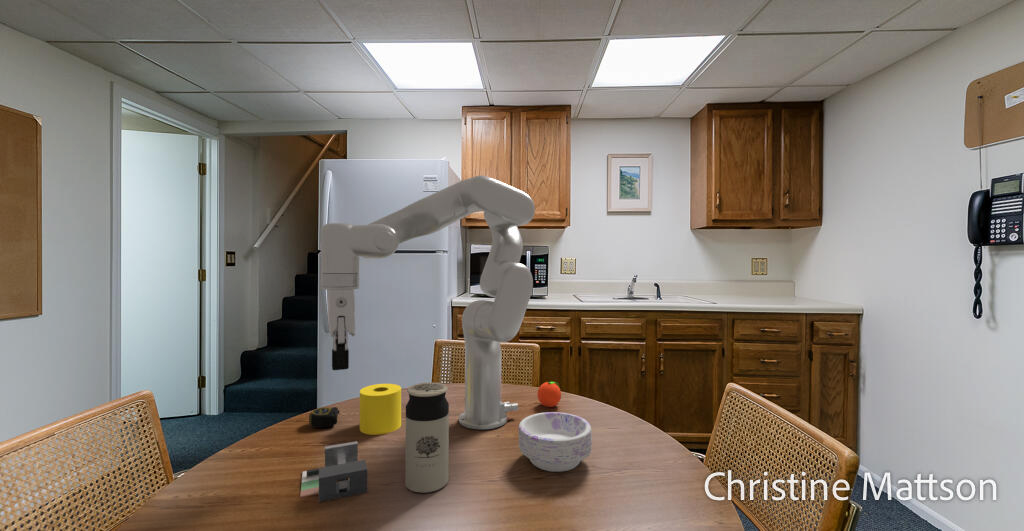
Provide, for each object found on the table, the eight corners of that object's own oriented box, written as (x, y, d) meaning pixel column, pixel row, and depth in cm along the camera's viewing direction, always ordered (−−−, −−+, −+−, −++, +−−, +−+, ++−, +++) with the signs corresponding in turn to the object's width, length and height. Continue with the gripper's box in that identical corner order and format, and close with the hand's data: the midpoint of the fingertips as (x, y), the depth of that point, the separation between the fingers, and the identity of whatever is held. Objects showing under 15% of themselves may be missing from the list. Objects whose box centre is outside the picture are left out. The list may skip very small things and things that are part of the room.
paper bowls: (507, 471, 84) (507, 432, 83) (532, 441, 98) (532, 407, 98) (583, 487, 78) (583, 444, 78) (597, 452, 92) (597, 416, 92)
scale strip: (321, 469, 84) (321, 468, 84) (321, 493, 75) (321, 492, 75) (302, 472, 83) (302, 471, 83) (300, 497, 74) (300, 496, 74)
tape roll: (406, 428, 105) (406, 391, 105) (366, 438, 99) (366, 398, 99) (393, 416, 113) (393, 381, 113) (355, 424, 107) (355, 387, 107)
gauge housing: (365, 481, 79) (365, 459, 79) (367, 492, 76) (367, 469, 76) (318, 490, 76) (319, 467, 76) (318, 502, 72) (318, 478, 72)
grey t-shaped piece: (357, 465, 85) (357, 441, 85) (361, 491, 76) (361, 463, 76) (306, 475, 81) (306, 449, 81) (304, 502, 72) (304, 473, 72)
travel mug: (412, 471, 83) (412, 381, 83) (451, 472, 83) (452, 382, 83) (400, 493, 75) (400, 394, 75) (444, 494, 75) (444, 394, 75)
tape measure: (337, 429, 105) (337, 414, 105) (307, 432, 103) (307, 416, 103) (339, 419, 111) (339, 405, 111) (311, 421, 109) (311, 407, 109)
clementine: (550, 399, 127) (550, 376, 127) (568, 405, 122) (568, 381, 122) (532, 405, 122) (532, 381, 121) (550, 412, 116) (550, 386, 116)
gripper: (362, 283, 83) (362, 375, 83) (356, 280, 97) (356, 359, 98) (320, 284, 80) (320, 379, 80) (321, 280, 94) (321, 362, 94)
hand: (340, 367), depth 89 cm, fingers closed
